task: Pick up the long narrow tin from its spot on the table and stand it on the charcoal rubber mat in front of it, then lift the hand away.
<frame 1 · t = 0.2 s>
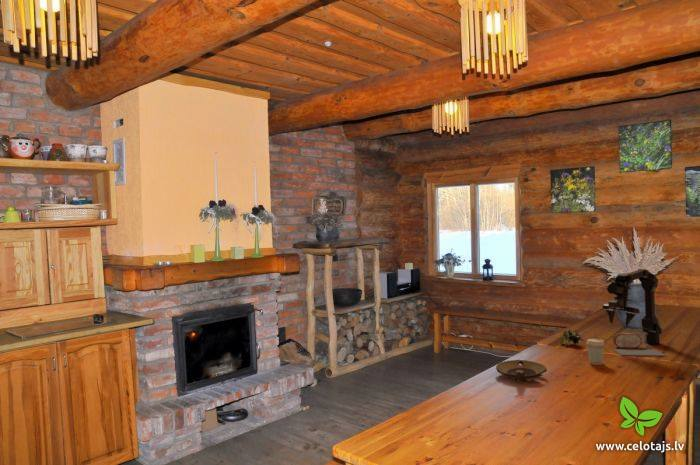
hand: (618, 324, 288), 15 cm above the table, tool pointing down, fingers open, 9 cm apart
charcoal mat: (638, 353, 283), on the table
coffee cup: (595, 364, 264), on the table
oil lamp: (518, 379, 242), on the table
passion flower: (570, 345, 304), on the table
tin: (627, 348, 296), on the table
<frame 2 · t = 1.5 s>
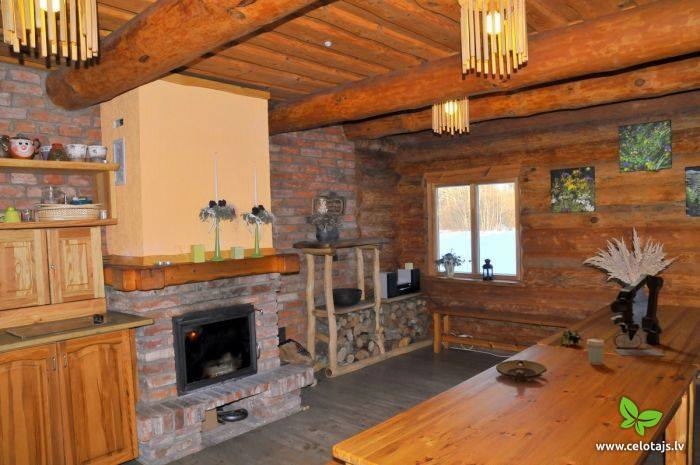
hand: (627, 338, 296), 5 cm above the table, tool pointing down, fingers open, 9 cm apart
nothing on the table moved.
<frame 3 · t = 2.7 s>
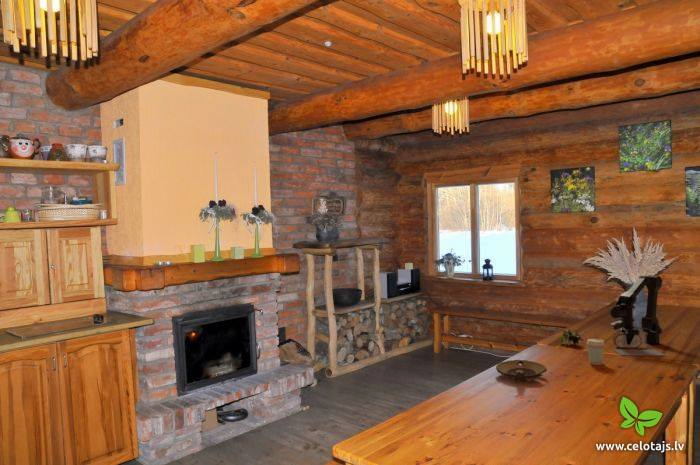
hand: (627, 344, 296), 2 cm above the table, tool pointing down, fingers closed on tin, 3 cm apart
tin: (627, 348, 296), on the table, touching gripper
everything else where it was.
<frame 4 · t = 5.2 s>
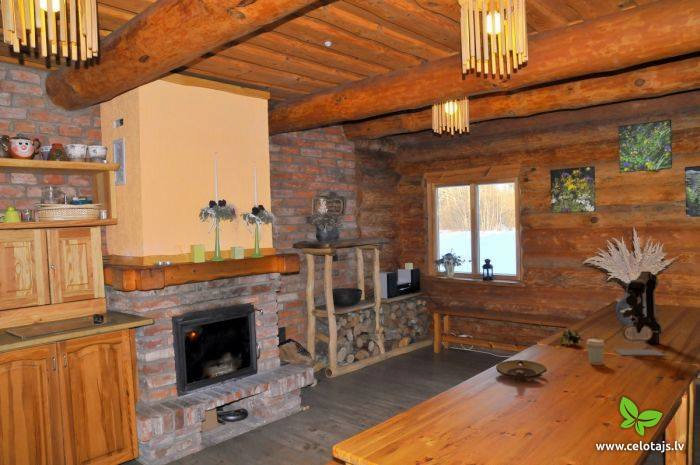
hand: (637, 332, 283), 11 cm above the table, tool pointing down, fingers closed on tin, 2 cm apart
tin: (638, 341, 283), point 7 cm above the table, touching gripper
everything else where it was.
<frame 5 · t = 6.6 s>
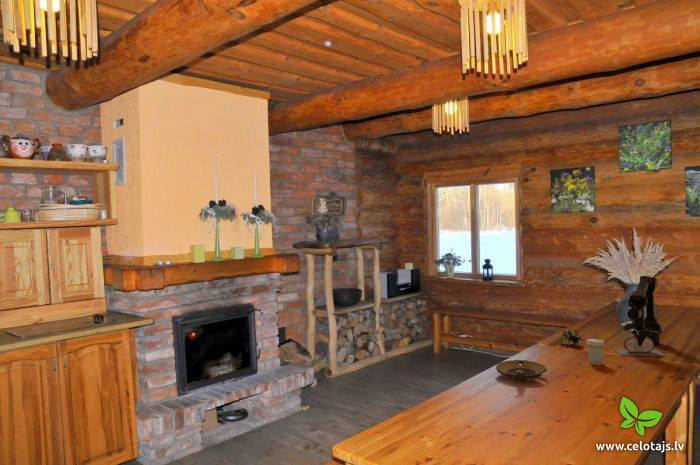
hand: (638, 345, 283), 4 cm above the table, tool pointing down, fingers closed on tin, 2 cm apart
tin: (639, 352, 282), resting on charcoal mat, touching gripper
everything else where it was.
when the fingers open (4 cm above the table, at t = 7.1 s): tin stays where it is, resting on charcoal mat.
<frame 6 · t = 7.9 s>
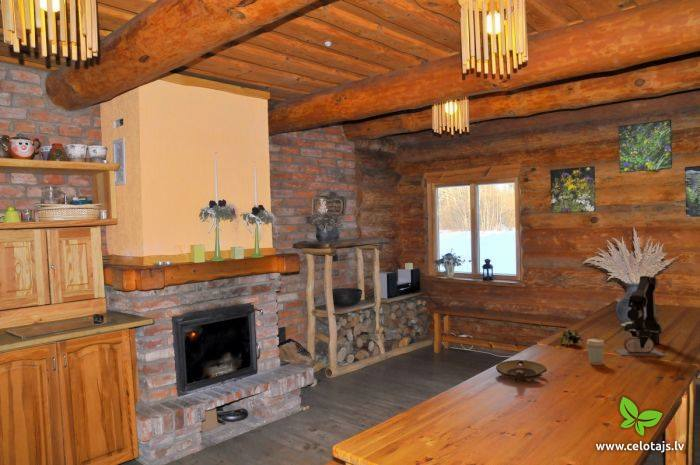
hand: (638, 345, 283), 4 cm above the table, tool pointing down, fingers open, 9 cm apart
tin: (639, 352, 282), resting on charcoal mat
everything else where it was.
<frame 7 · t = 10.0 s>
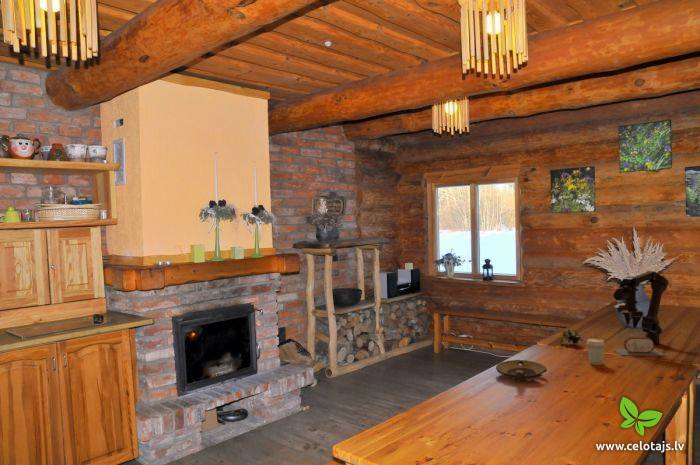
hand: (631, 326, 298), 12 cm above the table, tool pointing down, fingers open, 9 cm apart
nothing on the table moved.
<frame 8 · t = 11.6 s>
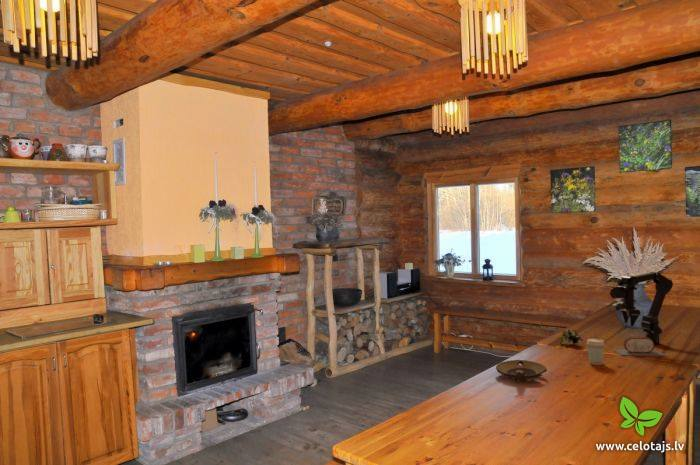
hand: (628, 324, 301), 12 cm above the table, tool pointing down, fingers open, 9 cm apart
nothing on the table moved.
at the end: tin inside the target area (1.2 cm from its centre), resting on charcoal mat; tin tilted 0°; the gripper is holding nothing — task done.
